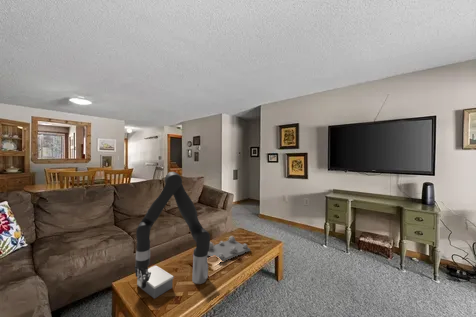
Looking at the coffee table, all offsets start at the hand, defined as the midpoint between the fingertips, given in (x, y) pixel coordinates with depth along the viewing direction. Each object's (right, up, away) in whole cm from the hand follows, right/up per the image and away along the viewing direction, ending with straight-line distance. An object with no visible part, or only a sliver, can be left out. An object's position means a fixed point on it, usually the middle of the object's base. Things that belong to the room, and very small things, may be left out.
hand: (141, 286), depth 117 cm
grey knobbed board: (+45, -6, +55) cm, 72 cm away
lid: (+4, 0, +5) cm, 6 cm away
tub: (+5, -5, +7) cm, 10 cm away
